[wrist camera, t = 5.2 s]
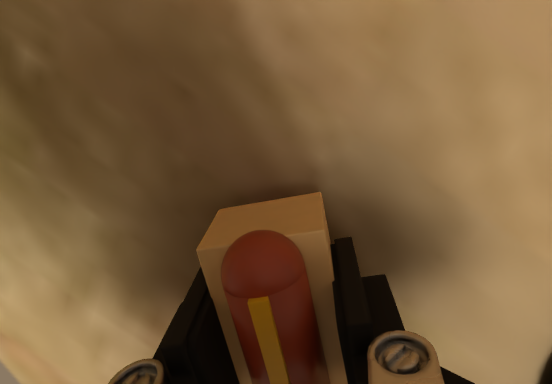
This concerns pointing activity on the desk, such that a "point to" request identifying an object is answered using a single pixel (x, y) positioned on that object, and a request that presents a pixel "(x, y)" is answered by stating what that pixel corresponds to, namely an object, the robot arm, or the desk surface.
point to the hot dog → (275, 290)
